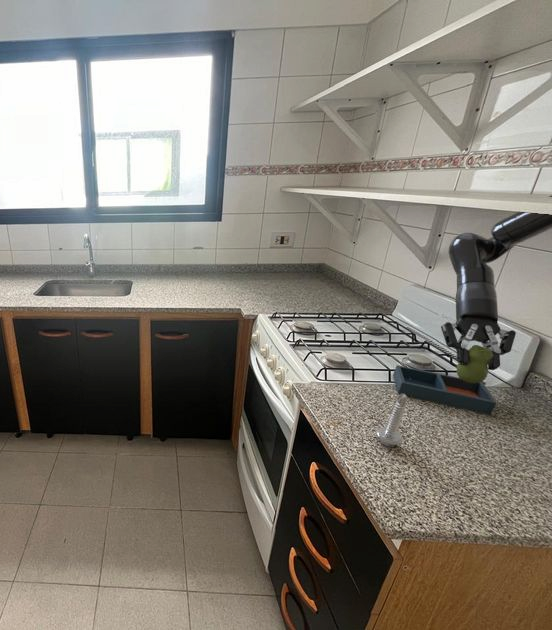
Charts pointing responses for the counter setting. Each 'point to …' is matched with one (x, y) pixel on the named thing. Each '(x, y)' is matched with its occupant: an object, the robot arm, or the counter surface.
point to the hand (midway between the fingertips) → (478, 366)
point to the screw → (393, 425)
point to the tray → (443, 389)
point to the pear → (475, 365)
